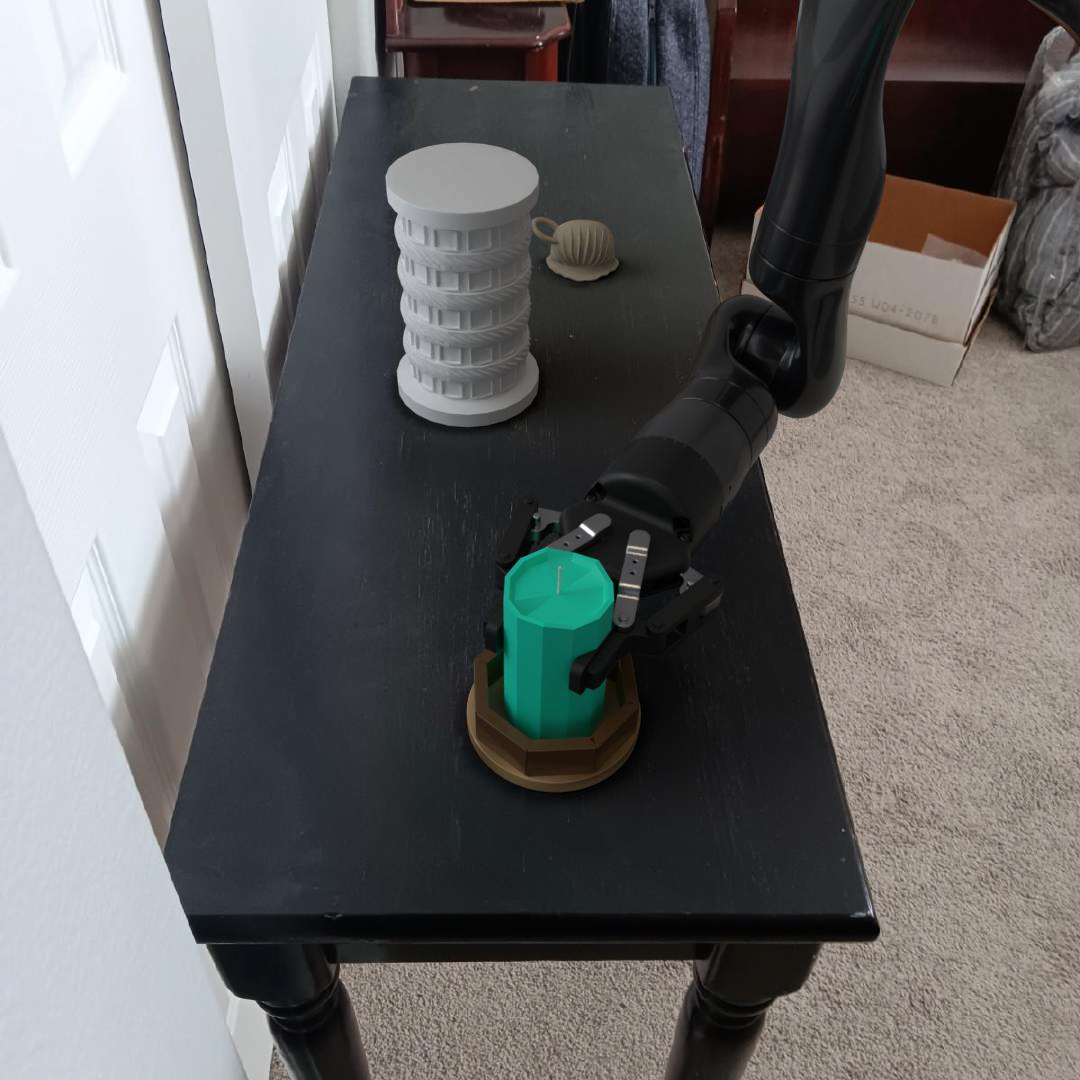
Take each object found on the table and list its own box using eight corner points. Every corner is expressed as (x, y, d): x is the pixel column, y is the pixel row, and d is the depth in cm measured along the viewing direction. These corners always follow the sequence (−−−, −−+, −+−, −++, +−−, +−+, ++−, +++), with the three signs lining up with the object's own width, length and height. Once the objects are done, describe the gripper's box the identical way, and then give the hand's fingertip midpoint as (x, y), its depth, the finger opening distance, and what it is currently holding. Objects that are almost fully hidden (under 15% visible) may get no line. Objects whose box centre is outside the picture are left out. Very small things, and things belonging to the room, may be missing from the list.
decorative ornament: (618, 283, 100) (623, 231, 96) (529, 279, 100) (530, 227, 97) (618, 261, 103) (622, 209, 99) (531, 257, 103) (532, 205, 99)
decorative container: (467, 446, 83) (460, 233, 70) (368, 383, 88) (345, 175, 76) (567, 383, 89) (578, 176, 76) (469, 327, 94) (463, 126, 82)
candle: (589, 759, 62) (601, 622, 53) (489, 733, 63) (486, 595, 54) (614, 679, 66) (629, 540, 57) (520, 656, 67) (521, 516, 58)
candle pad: (673, 712, 65) (680, 676, 63) (564, 826, 60) (566, 792, 57) (544, 625, 70) (545, 589, 68) (431, 723, 64) (427, 687, 62)
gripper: (576, 398, 68) (418, 563, 57) (788, 478, 63) (658, 675, 52) (571, 486, 73) (426, 652, 63) (766, 567, 68) (644, 762, 58)
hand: (533, 661), depth 58 cm, fingers closed on candle, 4 cm apart
